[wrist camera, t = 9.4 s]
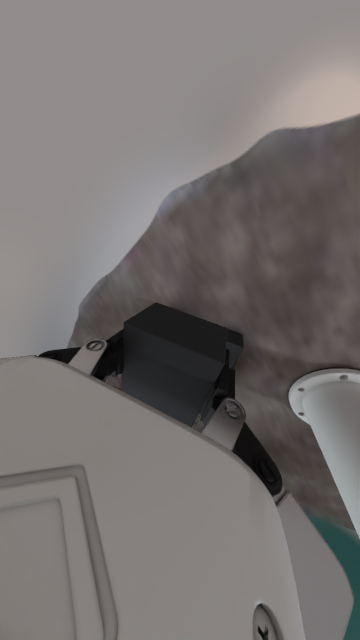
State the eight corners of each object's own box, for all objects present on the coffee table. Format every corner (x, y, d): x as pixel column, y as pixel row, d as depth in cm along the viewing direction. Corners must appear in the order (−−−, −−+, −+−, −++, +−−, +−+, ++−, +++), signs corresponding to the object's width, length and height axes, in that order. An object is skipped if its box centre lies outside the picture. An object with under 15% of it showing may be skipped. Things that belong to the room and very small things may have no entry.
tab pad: (155, 301, 12) (123, 322, 8) (228, 328, 11) (225, 364, 7) (141, 391, 18) (119, 425, 14) (187, 414, 16) (175, 457, 13)
